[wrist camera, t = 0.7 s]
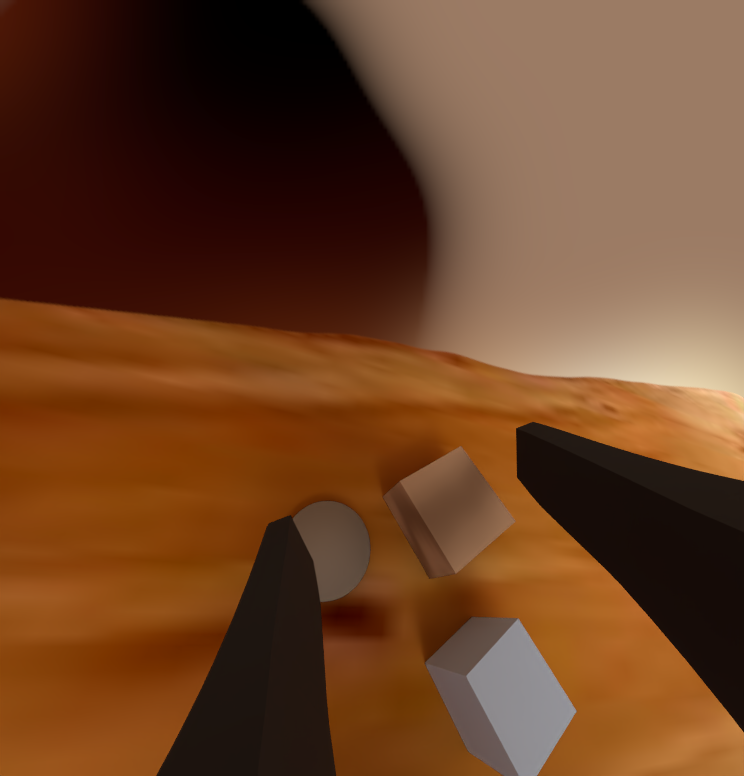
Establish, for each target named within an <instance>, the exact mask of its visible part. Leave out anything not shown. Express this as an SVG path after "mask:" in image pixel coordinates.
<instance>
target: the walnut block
mask: <svg viewBox="0 0 744 776" xmlns="http://www.w3.org/2000/svg"><path fill="white" fill-rule="evenodd" d="M383 498H384V500H385V502H386V503H387V505H388V507H389V509H390V510H391V512H392V514H393V516H394V517H395V519H396V521H397V523H398V524H399V526H400V528H401V530H402V531H403V533H404V535H405V537H406V538H407V540H408V542H409V544H410V545H411V547H412V549H413V551H414V552H415V554H416V556H417V558H418V559H419V561H420V563H421V565H422V566H423V568H424V570H425V572H426V573H427V575H428V577H429V579H431V578H436V577H442V576H447V575H452V574H456V573H458V572H459V571H460V570H461V569H462V568H463V567H464V566H465V565H467V564H468V563H469V562H470V561H471V560H472V559H473V558H474V557H476V556H477V555H478V554H479V553H480V552H481V551H482V550H484V549H485V548H486V547H487V546H488V545H489V544H490V543H491V542H493V541H494V540H495V539H496V538H497V537H498V536H499V535H501V534H502V533H503V532H504V531H505V530H506V529H507V528H508V527H510V526H511V525H512V524H513V523H514V522H515V520H514V518H513V517H512V516H511V514H510V513H509V511H508V510H507V509H506V507H505V506H504V505H503V503H502V502H501V500H500V499H499V498H498V496H497V495H496V493H495V492H494V491H493V489H492V488H491V487H490V485H489V484H488V482H487V481H486V480H485V478H484V477H483V476H482V474H481V473H480V471H479V470H478V469H477V467H476V466H475V465H474V463H473V462H472V460H471V459H470V458H469V456H468V455H467V454H466V452H465V451H464V449H463V448H462V447H461V446H460V447H458V448H457V449H455V450H453V451H451V452H450V453H448V454H446V455H444V456H443V457H441V458H439V459H437V460H436V461H434V462H432V463H431V464H429V465H427V466H425V467H424V468H422V469H420V470H418V471H417V472H415V473H413V474H411V475H410V476H408V477H406V478H404V479H403V480H401V481H399V482H398V483H397V484H396V485H395V486H394V487H393V488H392V489H391V490H389V491H388V492H387V493H386V494H385V495H384V496H383Z"/></svg>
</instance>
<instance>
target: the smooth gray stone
mask: <svg viewBox="0 0 744 776" xmlns="http://www.w3.org/2000/svg"><path fill="white" fill-rule="evenodd" d="M293 521H294V523H295V525H296V527H297V529H298V531H299V533H300V535H301V537H302V539H303V541H304V543H305V545H306V547H307V549H308V551H309V553H310V555H311V557H312V559H313V561H314V567H315V573H316V578H317V584H318V590H319V596H320V602H325V601H332V600H336V599H339V598H341V597H343V596H345V595H346V594H348V593H349V592H350V591H352V590H353V589H354V588H355V587H356V586H357V585H358V583H359V582H360V581H361V579H362V577H363V576H364V574H365V572H366V569H367V566H368V563H369V558H370V540H369V535H368V532H367V529H366V527H365V524H364V523H363V521H362V519H361V518H360V517H359V515H358V514H357V513H356V512H355V511H353V510H352V509H351V508H350V507H348V506H346V505H344V504H342V503H339V502H335V501H320V502H316V503H313V504H311V505H308V506H307V507H305V508H303V509H302V510H301V511H300V512H298V513H297V514H296V515H295V516H294V518H293Z"/></svg>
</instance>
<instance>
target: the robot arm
mask: <svg viewBox="0 0 744 776" xmlns="http://www.w3.org/2000/svg"><path fill="white" fill-rule="evenodd" d="M516 442H517V478H518V479H519V480H520V481H521V483H522V484H523V485H524V486H525V488H526V489H527V490H528V492H529V493H530V494H531V495H532V496H533V498H534V499H535V500H536V501H537V502H538V503H539V505H540V506H541V507H542V508H543V509H544V510H545V511H546V512H547V513H548V514H549V515H550V516H551V517H552V518H553V519H554V520H556V521H557V522H558V523H559V524H560V525H561V526H562V527H563V528H564V529H565V530H566V531H567V532H568V533H569V534H570V535H571V536H572V537H573V538H574V539H575V540H576V541H577V542H578V543H579V544H580V545H581V546H582V547H583V548H584V549H585V550H587V551H588V552H589V553H590V554H591V555H592V556H593V557H594V558H595V559H596V560H597V561H598V562H599V563H600V564H601V565H602V566H603V567H604V568H605V569H606V570H607V571H608V572H609V573H610V574H611V575H612V576H613V577H614V578H615V579H616V580H617V581H618V582H619V583H620V584H621V585H622V586H623V588H624V589H625V590H626V591H627V592H628V593H629V594H630V596H631V597H632V598H633V599H634V600H635V601H636V602H637V603H638V605H639V606H640V607H641V608H642V609H643V610H644V611H645V613H646V614H647V615H648V616H649V617H650V618H651V619H652V620H653V622H654V623H655V624H656V625H657V626H658V627H659V629H660V630H661V631H662V632H663V633H664V635H665V636H666V637H667V638H668V639H669V640H670V642H671V643H672V644H673V645H674V646H675V648H676V649H677V650H678V651H679V652H680V653H681V655H682V656H683V657H684V658H685V659H686V661H687V662H688V663H689V664H690V665H691V667H692V668H693V669H694V670H695V672H696V673H697V674H698V675H699V677H700V678H701V679H702V680H703V682H704V683H705V684H706V685H707V686H708V688H709V689H710V690H711V691H712V693H713V694H714V695H715V696H716V698H717V699H718V700H719V701H720V703H721V704H722V705H723V706H724V708H725V709H726V710H727V711H728V713H729V714H730V715H731V716H732V718H733V719H734V720H735V721H736V723H737V724H738V725H739V727H740V728H741V729H742V731H743V732H744V481H741V480H737V479H732V478H728V477H723V476H719V475H714V474H710V473H706V472H701V471H697V470H693V469H689V468H685V467H681V466H677V465H674V464H670V463H666V462H663V461H659V460H655V459H652V458H648V457H645V456H641V455H638V454H634V453H631V452H628V451H624V450H621V449H618V448H615V447H612V446H608V445H605V444H602V443H599V442H596V441H593V440H590V439H586V438H583V437H580V436H577V435H574V434H571V433H568V432H565V431H562V430H559V429H556V428H552V427H549V426H546V425H543V424H539V423H535V422H532V423H529V424H526V425H524V426H521V427H519V428H516ZM156 776H336V771H335V764H334V757H333V750H332V743H331V736H330V728H329V718H328V708H327V696H326V680H325V665H324V650H323V635H322V620H321V606H320V596H319V590H318V584H317V578H316V573H315V567H314V561H313V559H312V557H311V555H310V553H309V551H308V549H307V547H306V545H305V543H304V541H303V539H302V537H301V535H300V533H299V531H298V529H297V527H296V525H295V523H294V521H293V519H292V517H291V515H290V516H287V517H284V518H282V519H279V520H277V521H274V522H271V523H269V524H268V526H267V528H266V531H265V534H264V537H263V540H262V543H261V545H260V548H259V551H258V554H257V557H256V560H255V563H254V565H253V568H252V571H251V573H250V576H249V579H248V581H247V584H246V586H245V589H244V592H243V594H242V597H241V599H240V602H239V604H238V607H237V609H236V612H235V614H234V617H233V619H232V622H231V624H230V626H229V628H228V631H227V633H226V635H225V637H224V640H223V642H222V644H221V647H220V649H219V651H218V653H217V656H216V658H215V660H214V663H213V665H212V667H211V669H210V671H209V673H208V675H207V678H206V680H205V682H204V684H203V686H202V688H201V690H200V692H199V694H198V696H197V698H196V700H195V703H194V705H193V707H192V709H191V711H190V712H189V714H188V716H187V718H186V720H185V722H184V724H183V726H182V728H181V730H180V732H179V734H178V736H177V738H176V740H175V742H174V744H173V746H172V748H171V749H170V751H169V753H168V755H167V757H166V759H165V761H164V762H163V764H162V766H161V768H160V770H159V772H158V774H157V775H156Z"/></svg>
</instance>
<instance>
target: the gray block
mask: <svg viewBox="0 0 744 776" xmlns="http://www.w3.org/2000/svg"><path fill="white" fill-rule="evenodd" d="M425 665H426V667H427V669H428V671H429V673H430V675H431V677H432V679H433V681H434V683H435V685H436V687H437V689H438V691H439V693H440V695H441V697H442V699H443V701H444V703H445V705H446V707H447V709H448V712H449V714H450V716H451V718H452V720H453V722H454V724H455V726H456V728H457V730H458V732H459V734H460V736H461V738H462V740H463V742H464V744H465V746H466V748H467V750H468V752H470V753H471V754H472V755H474V756H475V757H477V758H478V759H480V760H481V761H483V762H484V763H486V764H487V765H489V766H490V767H492V768H493V769H495V770H496V771H498V772H499V773H501V774H502V775H504V776H537V775H538V773H539V771H540V770H541V768H542V766H543V765H544V763H545V762H546V760H547V758H548V757H549V755H550V753H551V752H552V750H553V749H554V747H555V745H556V744H557V742H558V740H559V739H560V737H561V736H562V734H563V732H564V731H565V729H566V727H567V726H568V724H569V723H570V721H571V719H572V718H573V716H574V714H575V713H576V710H575V708H574V706H573V705H572V703H571V702H570V700H569V698H568V697H567V695H566V694H565V692H564V690H563V689H562V687H561V686H560V684H559V682H558V681H557V679H556V678H555V676H554V675H553V673H552V671H551V670H550V668H549V667H548V665H547V663H546V662H545V660H544V659H543V657H542V655H541V654H540V652H539V651H538V649H537V647H536V646H535V644H534V643H533V641H532V639H531V638H530V636H529V635H528V633H527V632H526V630H525V628H524V627H523V625H522V624H521V622H520V620H519V619H518V618H490V617H471V618H470V619H469V620H468V621H467V622H466V623H465V624H464V625H463V626H462V627H461V628H460V629H459V630H458V631H457V632H456V633H455V634H454V635H453V636H452V637H451V638H450V639H449V640H448V641H447V642H446V643H445V644H444V645H443V646H441V647H440V648H439V649H438V650H437V651H436V652H435V653H434V654H433V655H432V656H431V657H430V658H429V659H428V660H427V661H426V662H425Z"/></svg>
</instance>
